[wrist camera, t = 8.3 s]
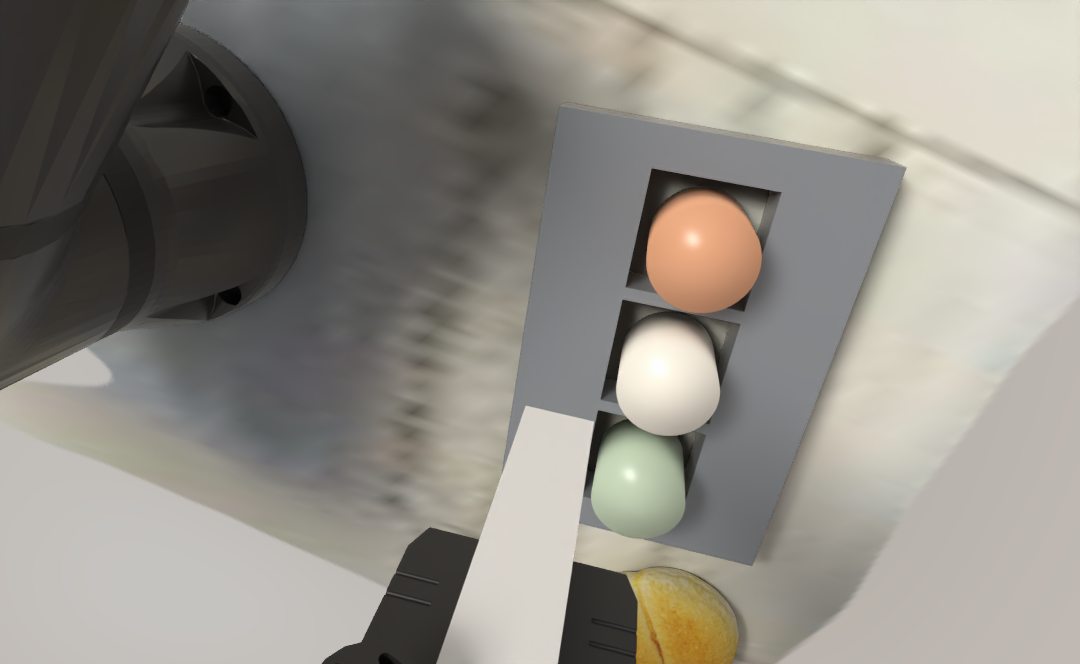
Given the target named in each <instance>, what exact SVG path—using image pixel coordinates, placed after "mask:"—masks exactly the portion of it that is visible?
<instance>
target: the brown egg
mask: <svg viewBox="0 0 1080 664" xmlns="http://www.w3.org/2000/svg"><path fill="white" fill-rule="evenodd" d="M761 261H762V252H761V246H760V242H759V239H758V236H757V235H756V233H755V231H754V229H753V227H752V225H751V223H750V221H749V219H748V217H747V215H746V213H745V212H744V210H743V208H742V206H741V205H740V204H739V203H738V202H737V200H736V199H735V198H733V197H732V196H731V195H729V194H728V193H726V192H724V191H722V190H719V189H717V188H713V187H706V186H697V187H690V188H687V189H683V190H681V191H678V192H677V193H675V194H673V195H671V196H670V197H669V198H667V199H666V200H665V201H664V202H663V203H662V204H661V205H660V207H659V208H658V209H657V211H656V212H655V214H654V216H653V218H652V221H651V224H650V229H649V236H648V246H647V256H646V266H647V273H648V276H649V279H650V282H651V284H652V286H653V287H654V289H655V291H656V292H657V293H658V294H659V295H660V296H661V297H662V298H663V299H664V300H665V301H666V302H668V303H669V304H670V305H672V306H674V307H676V308H678V309H681V310H684V311H687V312H692V313H711V312H716V311H720V310H722V309H725V308H727V307H729V306H732V305H733V304H735V303H736V302H738V301H739V300H740V299H742V298H743V297H744V296H745V295H746V294H747V293H748V292H749V291H750V289H751V288H752V286H753V285H754V283H755V281H756V280H757V277H758V275H759V272H760V268H761Z"/></svg>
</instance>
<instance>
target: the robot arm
mask: <svg viewBox="0 0 1080 664" xmlns="http://www.w3.org/2000/svg"><path fill="white" fill-rule="evenodd" d="M189 1H190V0H0V390H2V389H4V388H6V387H8V386H10V385H12V384H14V383H16V382H18V381H20V380H22V379H24V378H26V377H27V376H29V375H31V374H33V373H35V372H37V371H39V370H41V369H43V368H45V367H47V366H49V365H51V364H53V363H55V362H57V361H59V360H61V359H63V358H65V357H67V356H69V355H71V354H73V353H75V352H77V351H79V350H81V349H83V348H85V347H87V346H89V345H91V344H93V343H95V342H97V341H99V340H101V339H103V338H105V337H107V336H109V335H111V334H114V333H116V332H118V331H127V330H137V329H146V328H156V327H166V326H175V325H185V324H194V323H202V322H207V321H211V320H215V319H218V318H221V317H224V316H227V315H229V314H232V313H234V312H236V311H238V310H239V309H241V308H243V307H245V306H246V305H248V304H250V303H252V302H253V301H255V300H257V299H259V298H260V297H262V296H263V295H265V294H266V293H268V292H269V291H270V290H271V289H273V288H274V287H275V286H276V285H277V284H278V283H279V282H280V281H281V279H282V278H283V277H284V276H285V275H286V273H287V272H288V270H289V269H290V267H291V265H292V264H293V262H294V260H295V258H296V256H297V253H298V251H299V248H300V245H301V242H302V239H303V235H304V230H305V224H306V215H307V192H306V183H305V177H304V171H303V167H302V162H301V158H300V155H299V152H298V149H297V146H296V143H295V140H294V138H293V135H292V133H291V131H290V129H289V126H288V124H287V122H286V120H285V118H284V116H283V115H282V113H281V111H280V109H279V108H278V106H277V104H276V103H275V101H274V100H273V98H272V97H271V95H270V94H269V92H268V91H267V90H266V88H265V87H264V86H263V85H262V83H261V82H260V81H259V80H258V78H257V77H256V76H255V75H254V74H253V73H252V72H251V71H250V70H249V69H248V68H247V67H246V66H245V65H244V64H243V63H242V62H241V61H240V60H239V59H238V58H237V57H236V56H234V55H233V54H232V53H231V52H230V51H228V50H227V49H226V48H224V47H223V46H222V45H220V44H219V43H217V42H216V41H214V40H213V39H211V38H209V37H208V36H206V35H204V34H202V33H201V32H198V31H196V30H194V29H192V28H190V27H188V26H185V25H182V24H180V23H179V21H180V19H181V17H182V15H183V13H184V11H185V9H186V7H187V5H188V3H189ZM593 425H594V421H590V420H585V419H581V418H577V417H573V416H568V415H564V414H560V413H555V412H551V411H547V410H543V409H538V408H534V407H530V406H525V409H524V412H523V415H522V418H521V421H520V424H519V427H518V430H517V432H516V435H515V438H514V441H513V444H512V447H511V450H510V453H509V455H508V458H507V461H506V464H505V467H504V470H503V473H502V476H501V479H500V481H499V484H498V487H497V490H496V493H495V496H494V499H493V502H492V505H491V507H490V510H489V513H488V516H487V519H486V522H485V525H484V528H483V531H482V533H481V536H480V539H479V540H478V539H474V538H470V537H466V536H462V535H458V534H454V533H450V532H446V531H442V530H438V529H434V528H428V529H427V530H426V531H425V532H424V533H422V534H421V535H420V536H419V537H418V538H417V539H415V540H414V541H413V542H412V543H411V544H409V545H408V547H407V549H406V551H405V553H404V555H403V558H402V560H401V562H400V564H399V566H398V568H397V570H396V574H395V575H394V576H393V578H392V580H391V582H390V584H389V586H388V588H387V592H386V595H384V597H383V599H382V601H381V603H380V605H379V607H378V609H377V611H376V613H375V616H374V617H373V619H372V622H371V624H370V626H369V628H368V630H367V632H366V634H365V636H364V638H363V640H362V642H361V643H357V644H353V645H349V646H345V647H343V648H342V649H340V650H338V651H337V652H335V653H334V654H332V655H331V656H329V657H328V658H326V659H325V660H324V662H323V663H322V664H636V653H637V635H636V632H637V613H638V601H637V598H636V596H635V594H634V591H633V589H632V587H631V584H630V582H629V579H628V577H627V575H626V574H622V573H618V572H614V571H610V570H606V569H602V568H598V567H594V566H590V565H586V564H582V563H578V562H574V561H573V559H574V552H575V545H576V539H577V532H578V525H579V519H580V512H581V505H582V499H583V492H584V485H585V479H586V472H587V465H588V459H589V452H590V445H591V439H592V432H593Z"/></svg>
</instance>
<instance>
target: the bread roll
mask: <svg viewBox="0 0 1080 664" xmlns="http://www.w3.org/2000/svg"><path fill="white" fill-rule="evenodd" d="M621 573H622V574H626V575H627V577H628V579H629V582H630V584H631V587H632V589H633V591H634V594H635V596H636V598H637V601H638V613H637V632H636V635H637V653H636V664H732V662H733V659H734V657H735V654H736V650H737V647H738V641H739V631H738V626H737V621H736V618H735V615H734V612H733V610H732V609H731V607H730V605H729V604H728V602H727V601H726V600H725V599H724V598H723V597H722V596H721V594H720V593H719V592H718V591H717V590H716V589H714V588H713V587H712V586H710V585H709V584H708V583H706V582H704V581H703V580H701V579H699V578H698V577H696V576H694V575H692V574H690V573H688V572H686V571H683V570H679V569H674V568H667V567H652V568H646V569H644V570H642V571H639V572H631V571H626V572H621Z"/></svg>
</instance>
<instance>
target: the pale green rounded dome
mask: <svg viewBox="0 0 1080 664" xmlns="http://www.w3.org/2000/svg"><path fill="white" fill-rule="evenodd" d="M591 502H592V507H593V510H594V512H595V514H596V515H597V517H598V518H599V520H600V521H601V522H602V523H603V524H604V525H605V526H606V527H608V528H609V529H611V530H612V531H614V532H616V533H618V534H620V535H623V536H626V537H630V538H638V539H647V538H653V537H658V536H660V535H663V534H665V533H667V532H669V531H670V530H672V529H673V528H674V527H675V526H676V525H677V524H678V523H679V522H680V520H681V518H682V516H683V514H684V510H685V481H684V458H683V448H682V445H681V442H680V440H679V438H678V437H677V435H676V436H662V435H656V434H653V433H649V432H647V431H645V430H642V429H641V428H639V427H637V426H636V425H635V424H633V423H632V422H631V421H630V420H629V419H625V420H622V421H620V422H618V423H616V424H614V425H613V426H611V427H610V428H609V429H608V430H607V431H606V432H605V434H604V435H603V437H602V439H601V442H600V446H599V452H598V458H597V463H596V469H595V475H594V481H593V486H592V492H591Z"/></svg>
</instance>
